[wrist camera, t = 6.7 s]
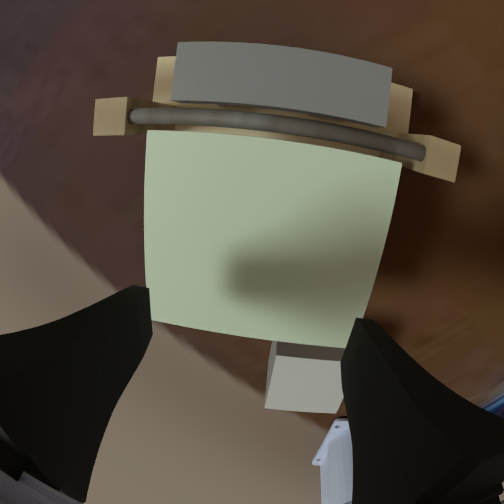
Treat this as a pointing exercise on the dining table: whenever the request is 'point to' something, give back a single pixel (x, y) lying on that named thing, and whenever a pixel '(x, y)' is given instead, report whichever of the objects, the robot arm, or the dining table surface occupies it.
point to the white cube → (304, 378)
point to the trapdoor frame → (281, 125)
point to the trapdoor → (267, 199)
